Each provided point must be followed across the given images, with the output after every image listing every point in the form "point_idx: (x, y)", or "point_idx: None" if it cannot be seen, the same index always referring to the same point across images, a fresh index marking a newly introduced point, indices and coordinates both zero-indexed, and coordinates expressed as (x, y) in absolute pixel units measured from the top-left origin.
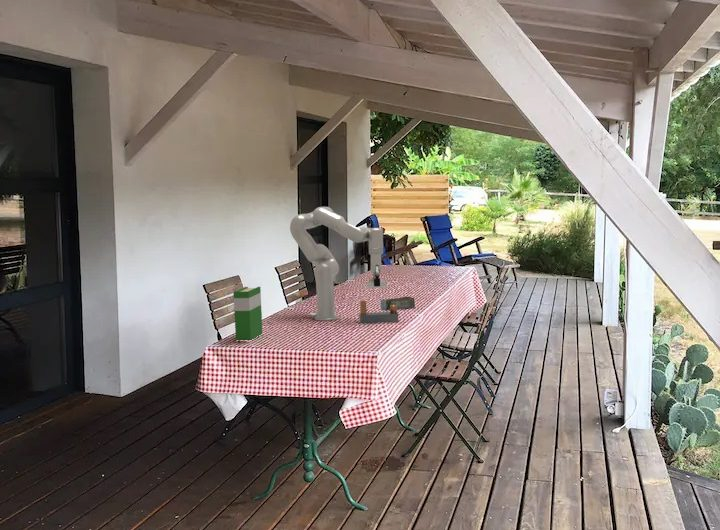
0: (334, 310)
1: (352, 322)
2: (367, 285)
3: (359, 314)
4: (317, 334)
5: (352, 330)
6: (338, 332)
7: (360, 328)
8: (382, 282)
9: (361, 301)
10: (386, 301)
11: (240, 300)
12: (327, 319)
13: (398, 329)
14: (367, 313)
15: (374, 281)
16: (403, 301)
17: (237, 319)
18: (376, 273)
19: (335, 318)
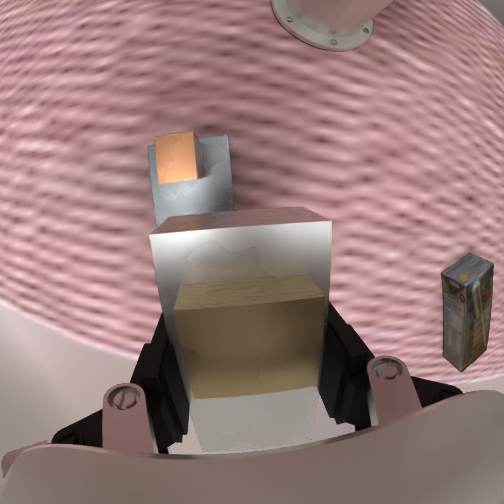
0: (333, 21)
1: (210, 107)
2: (183, 220)
3: (201, 138)
4: (17, 39)
5: (34, 136)
6: (19, 93)
7: (61, 162)
8: (194, 420)
9: (155, 145)
10: (466, 288)
11: None
12: (273, 5)
13: (48, 312)
14: (207, 186)
15: (151, 354)
16: (459, 341)
17: None
18: (4, 457)
19: (297, 35)
